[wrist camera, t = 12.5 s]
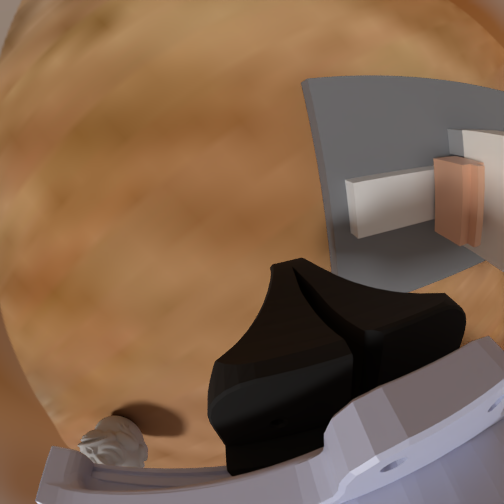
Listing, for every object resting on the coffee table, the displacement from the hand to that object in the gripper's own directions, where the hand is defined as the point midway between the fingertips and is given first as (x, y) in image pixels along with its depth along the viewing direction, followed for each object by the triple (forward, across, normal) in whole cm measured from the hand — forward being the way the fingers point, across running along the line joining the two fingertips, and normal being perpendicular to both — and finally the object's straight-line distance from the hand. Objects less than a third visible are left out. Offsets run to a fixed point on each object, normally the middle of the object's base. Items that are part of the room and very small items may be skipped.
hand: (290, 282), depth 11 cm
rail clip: (+3, -11, -1) cm, 11 cm away
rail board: (+5, -13, -1) cm, 14 cm away
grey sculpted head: (+5, +18, +15) cm, 24 cm away
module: (+4, -14, -2) cm, 15 cm away
